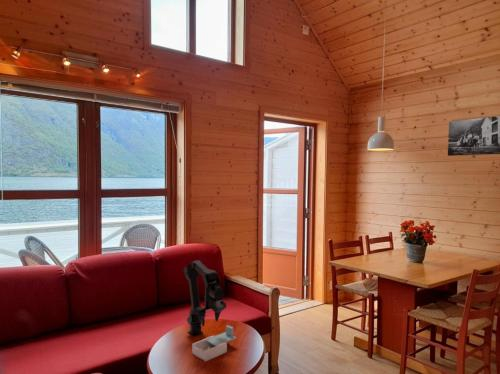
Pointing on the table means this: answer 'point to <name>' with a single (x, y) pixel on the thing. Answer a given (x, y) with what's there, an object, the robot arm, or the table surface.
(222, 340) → the lid
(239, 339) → the table surface
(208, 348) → the parts tub
